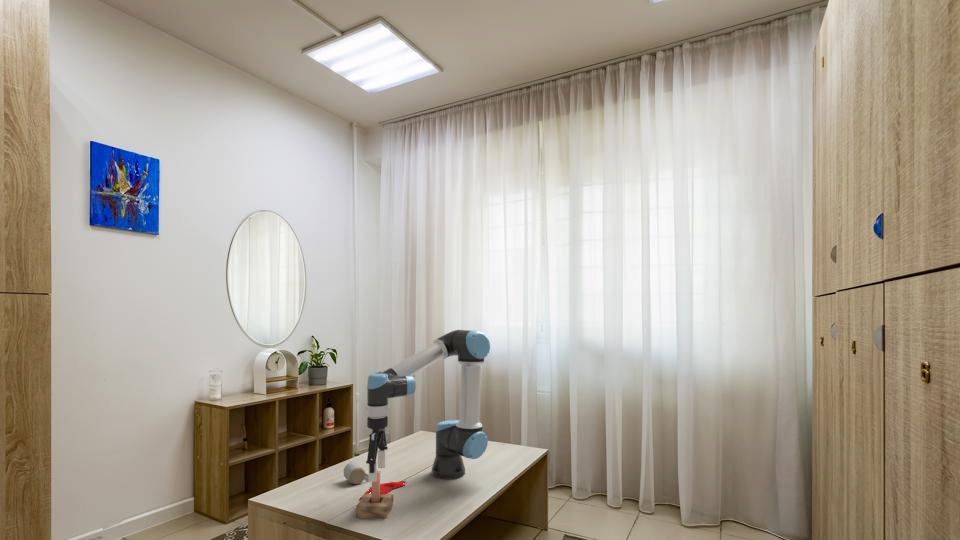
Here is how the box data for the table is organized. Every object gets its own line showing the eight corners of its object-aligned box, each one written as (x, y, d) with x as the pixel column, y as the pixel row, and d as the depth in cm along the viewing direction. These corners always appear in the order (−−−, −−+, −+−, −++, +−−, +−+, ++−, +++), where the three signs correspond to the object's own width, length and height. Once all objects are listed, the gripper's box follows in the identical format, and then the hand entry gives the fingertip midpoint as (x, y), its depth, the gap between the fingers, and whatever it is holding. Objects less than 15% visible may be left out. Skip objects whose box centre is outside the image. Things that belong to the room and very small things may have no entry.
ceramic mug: (349, 486, 199) (350, 468, 200) (342, 481, 206) (343, 462, 206) (373, 482, 205) (374, 463, 206) (366, 476, 212) (366, 458, 212)
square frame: (393, 505, 181) (393, 494, 181) (386, 518, 170) (387, 506, 170) (364, 504, 181) (364, 493, 182) (356, 517, 170) (356, 505, 171)
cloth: (401, 479, 210) (401, 474, 210) (418, 488, 200) (418, 483, 200) (345, 494, 193) (345, 488, 193) (361, 505, 183) (361, 499, 183)
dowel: (380, 509, 177) (381, 470, 178) (378, 513, 174) (379, 473, 175) (372, 509, 177) (373, 470, 178) (370, 512, 174) (371, 473, 175)
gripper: (375, 408, 191) (375, 462, 189) (358, 425, 166) (357, 487, 165) (394, 408, 190) (394, 462, 189) (379, 425, 166) (379, 487, 164)
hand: (377, 474), depth 177 cm, fingers open, 13 cm apart
